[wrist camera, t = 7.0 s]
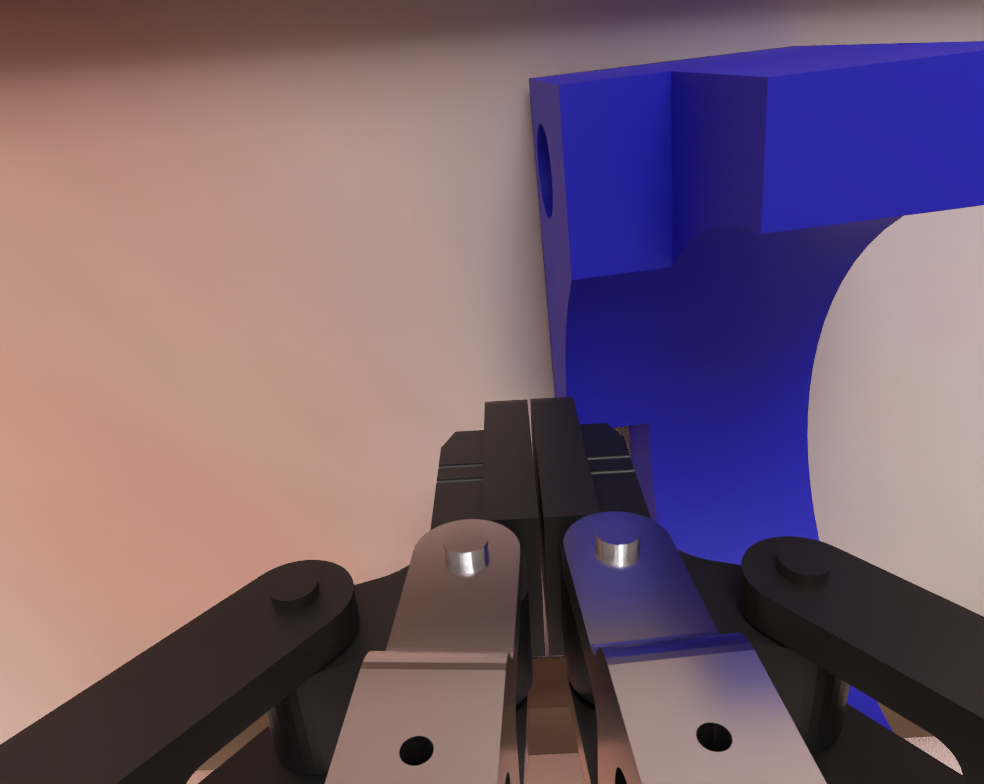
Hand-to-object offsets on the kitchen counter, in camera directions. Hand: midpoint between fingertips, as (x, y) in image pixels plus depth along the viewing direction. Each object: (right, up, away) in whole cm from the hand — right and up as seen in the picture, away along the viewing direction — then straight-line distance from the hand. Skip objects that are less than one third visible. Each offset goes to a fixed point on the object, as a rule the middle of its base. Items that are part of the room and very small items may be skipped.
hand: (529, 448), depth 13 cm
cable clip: (+3, +1, +2) cm, 4 cm away
